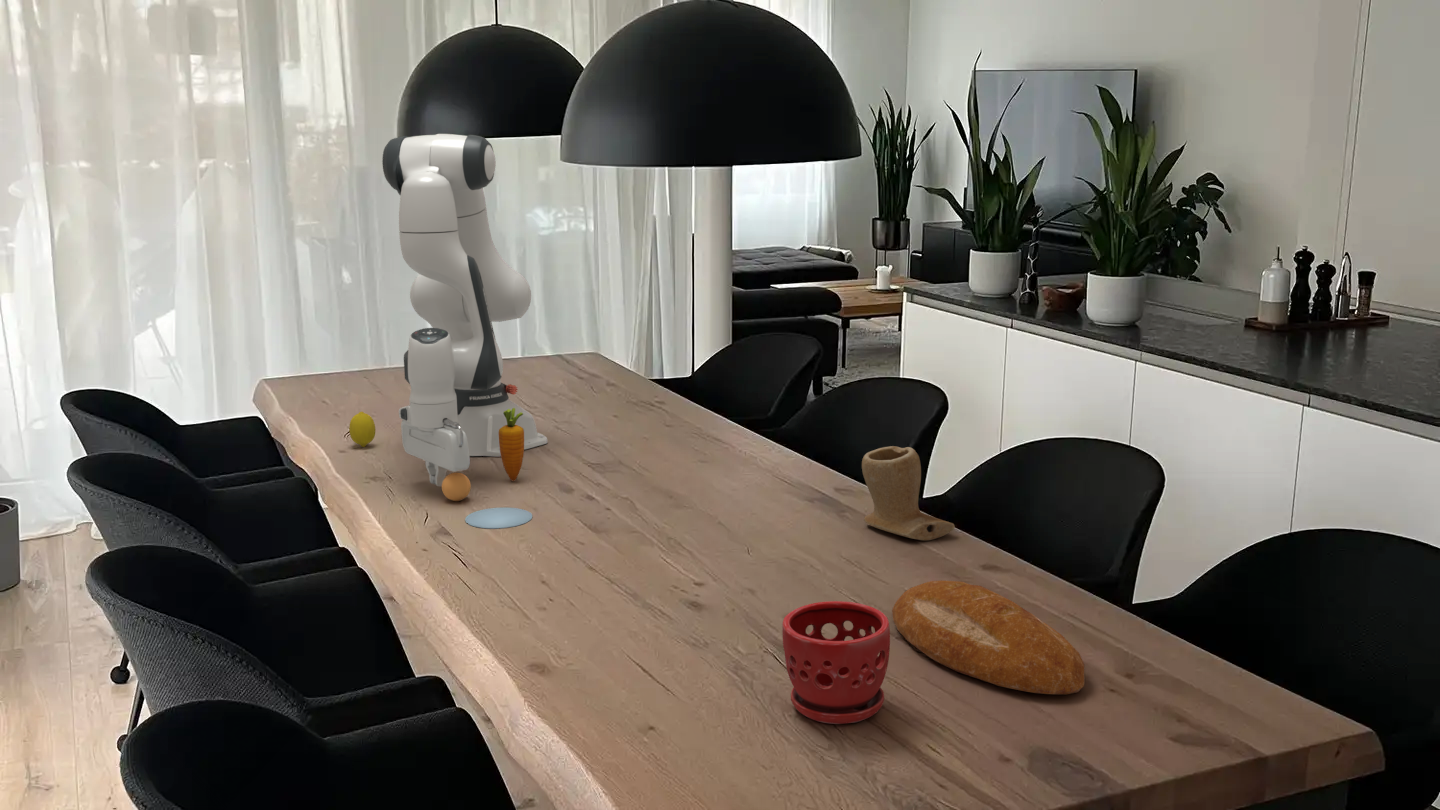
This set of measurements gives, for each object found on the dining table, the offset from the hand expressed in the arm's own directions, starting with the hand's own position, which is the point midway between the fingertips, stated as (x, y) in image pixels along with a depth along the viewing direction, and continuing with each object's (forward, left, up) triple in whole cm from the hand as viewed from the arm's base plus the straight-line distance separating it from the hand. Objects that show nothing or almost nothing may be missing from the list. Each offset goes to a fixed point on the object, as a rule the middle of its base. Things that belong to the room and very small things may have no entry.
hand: (437, 484), depth 259 cm
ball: (0, +7, +1) cm, 7 cm away
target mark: (0, +22, -2) cm, 22 cm away
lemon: (-5, -42, -2) cm, 43 cm away
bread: (-18, +117, -2) cm, 119 cm away
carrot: (-15, +3, -2) cm, 16 cm away
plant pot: (+10, +117, -2) cm, 117 cm away
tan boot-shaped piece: (-49, +75, -2) cm, 90 cm away
